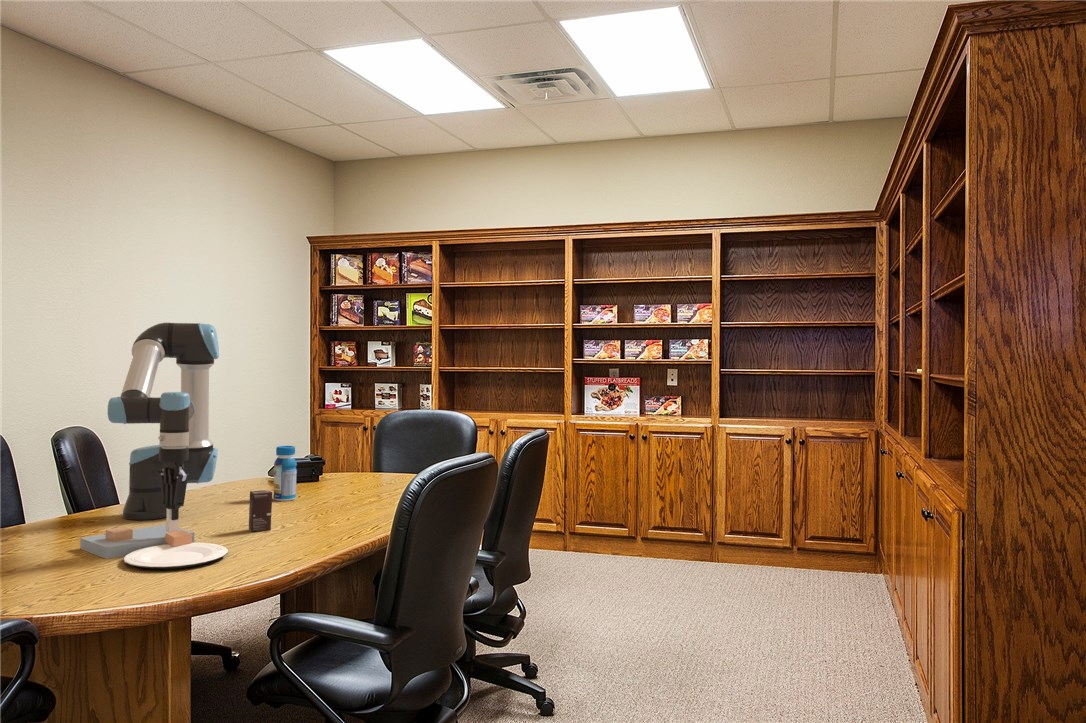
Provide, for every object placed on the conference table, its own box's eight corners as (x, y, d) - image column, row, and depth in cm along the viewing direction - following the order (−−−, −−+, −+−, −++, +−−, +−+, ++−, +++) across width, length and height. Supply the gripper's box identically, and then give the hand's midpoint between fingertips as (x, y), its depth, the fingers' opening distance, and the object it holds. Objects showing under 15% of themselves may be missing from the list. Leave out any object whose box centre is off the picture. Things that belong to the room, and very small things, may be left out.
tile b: (105, 538, 213) (105, 529, 213) (124, 535, 217) (124, 526, 217) (113, 541, 210) (113, 532, 210) (132, 538, 214) (132, 529, 214)
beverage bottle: (292, 501, 288) (293, 448, 288) (269, 501, 288) (270, 447, 288) (299, 497, 297) (300, 445, 297) (277, 497, 297) (278, 445, 297)
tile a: (164, 541, 215) (165, 533, 215) (182, 539, 219) (183, 530, 219) (173, 546, 212) (174, 537, 212) (191, 543, 216) (192, 534, 216)
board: (80, 548, 213) (80, 537, 213) (166, 534, 232) (166, 524, 232) (106, 558, 204) (106, 547, 204) (194, 542, 223) (194, 532, 223)
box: (251, 532, 237) (252, 493, 237) (248, 529, 241) (249, 491, 241) (272, 530, 241) (272, 491, 241) (268, 527, 244) (269, 489, 244)
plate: (158, 579, 187) (159, 571, 187) (103, 563, 201) (103, 555, 201) (247, 558, 209) (247, 551, 209) (192, 544, 222) (192, 538, 222)
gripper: (149, 446, 218) (147, 529, 218) (172, 450, 210) (170, 536, 210) (175, 444, 224) (173, 525, 224) (198, 448, 216) (197, 532, 216)
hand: (172, 531), depth 217 cm, fingers closed
